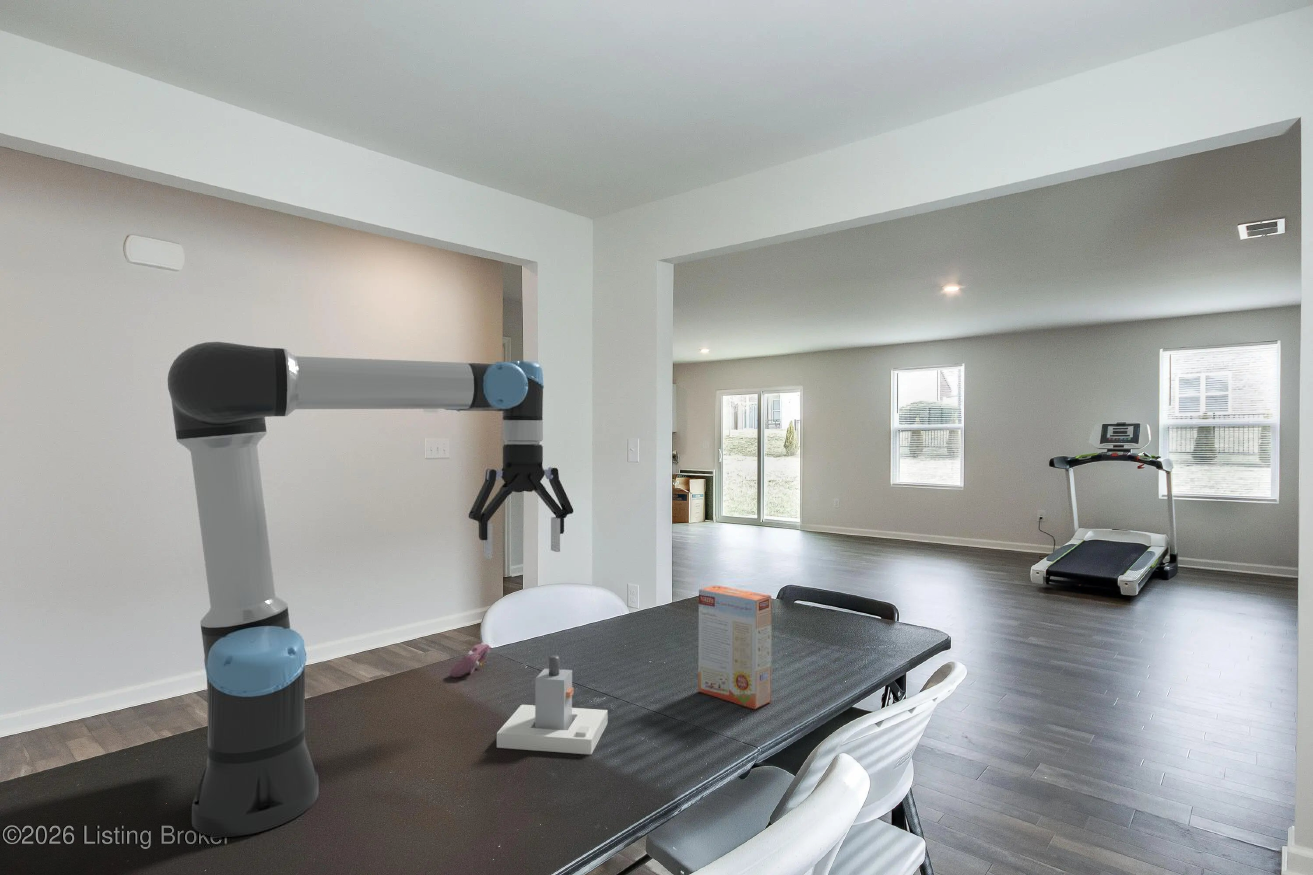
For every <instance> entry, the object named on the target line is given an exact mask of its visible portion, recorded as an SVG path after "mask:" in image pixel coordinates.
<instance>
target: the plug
mask: <svg viewBox="0 0 1313 875" xmlns="http://www.w3.org/2000/svg"><path fill="white" fill-rule="evenodd" d="M534 683H535V688H534V689H535V690H534V691H535V694H534V696H535V698H534V699H535V702H534V703H535V728H540V729H554V730H568V729H569V727H570V726H571V724H572V708H573V695H574V693H575V692H574V691H575V690H574V687H573V670H571V669H560V655H558V654H557V655H556V654H555V655H554V654H553V655H550V656H548V668H544V669H543V670H542V671H541V672H540V673H539V674H538V675H537V676H536V677H535V682H534Z"/></svg>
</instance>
